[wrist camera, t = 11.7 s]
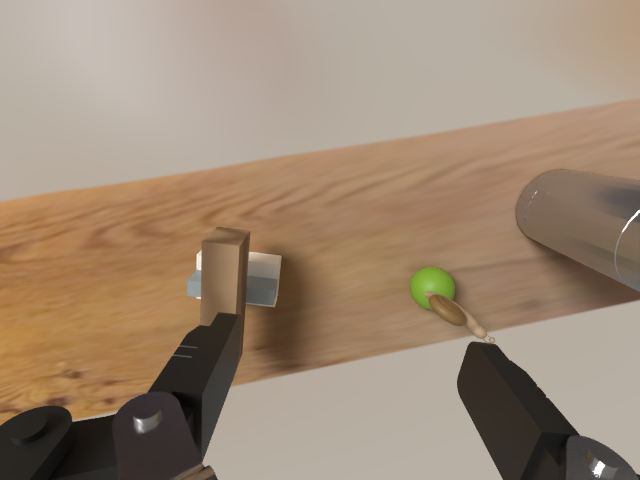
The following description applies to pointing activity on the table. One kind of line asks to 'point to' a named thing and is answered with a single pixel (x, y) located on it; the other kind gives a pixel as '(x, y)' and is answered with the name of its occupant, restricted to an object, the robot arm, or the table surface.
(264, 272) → the white grey stepped block
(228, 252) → the walnut bar
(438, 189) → the table surface
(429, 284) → the snail figurine
